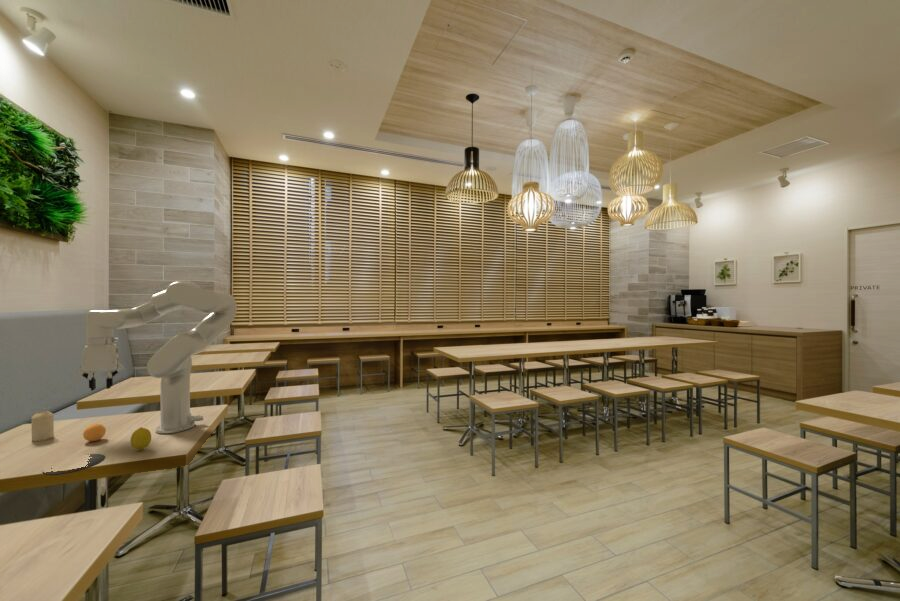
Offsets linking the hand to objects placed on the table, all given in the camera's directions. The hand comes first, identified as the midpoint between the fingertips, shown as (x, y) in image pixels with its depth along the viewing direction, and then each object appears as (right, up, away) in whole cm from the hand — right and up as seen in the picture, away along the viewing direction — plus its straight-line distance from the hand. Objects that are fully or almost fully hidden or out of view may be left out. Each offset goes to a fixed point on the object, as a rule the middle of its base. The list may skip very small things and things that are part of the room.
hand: (101, 388), depth 144 cm
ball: (+5, -14, -8) cm, 17 cm away
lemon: (+29, -18, -16) cm, 38 cm away
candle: (-16, -18, -6) cm, 25 cm away
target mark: (+17, -18, -26) cm, 36 cm away
